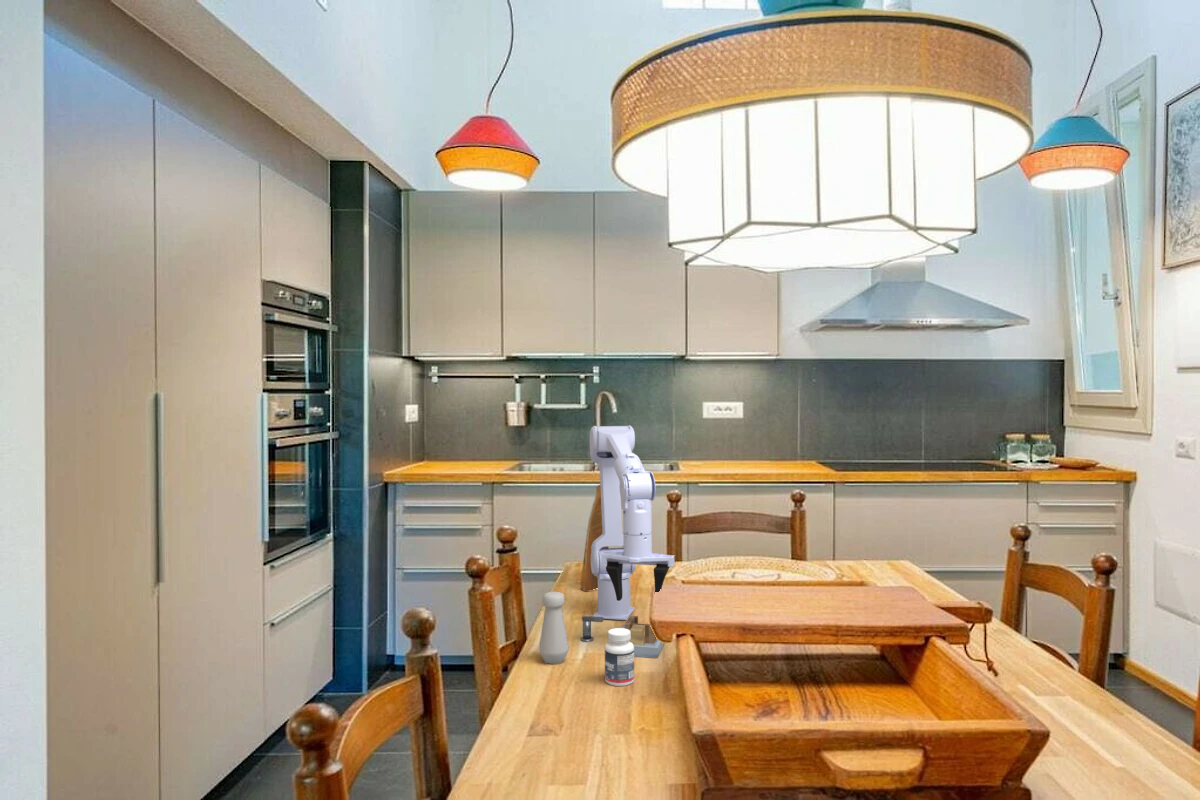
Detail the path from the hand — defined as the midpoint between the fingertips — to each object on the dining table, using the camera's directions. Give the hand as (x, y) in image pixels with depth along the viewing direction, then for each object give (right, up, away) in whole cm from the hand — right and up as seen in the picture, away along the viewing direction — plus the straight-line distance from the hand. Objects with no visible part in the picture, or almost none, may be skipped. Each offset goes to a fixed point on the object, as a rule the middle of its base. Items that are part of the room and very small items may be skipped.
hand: (638, 600), depth 144 cm
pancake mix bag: (-8, -10, +51) cm, 53 cm away
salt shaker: (-17, -10, -6) cm, 20 cm away
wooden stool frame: (+1, -9, +4) cm, 10 cm away
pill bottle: (-4, -10, -16) cm, 19 cm away
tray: (0, -10, +3) cm, 10 cm away
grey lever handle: (-9, -10, +6) cm, 15 cm away
